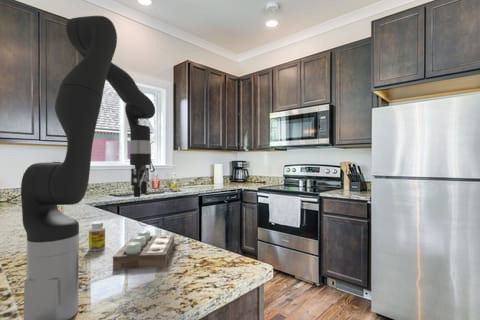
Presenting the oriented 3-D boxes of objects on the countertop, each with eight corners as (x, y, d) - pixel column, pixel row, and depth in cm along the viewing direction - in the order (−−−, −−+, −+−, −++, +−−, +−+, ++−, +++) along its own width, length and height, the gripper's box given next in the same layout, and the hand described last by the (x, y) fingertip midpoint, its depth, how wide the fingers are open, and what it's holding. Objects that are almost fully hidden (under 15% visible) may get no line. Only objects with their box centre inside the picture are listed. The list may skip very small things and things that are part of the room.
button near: (138, 258, 84) (138, 245, 84) (123, 259, 84) (123, 246, 84) (142, 253, 89) (142, 241, 89) (128, 254, 88) (128, 242, 88)
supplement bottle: (89, 252, 97) (89, 225, 97) (88, 248, 102) (88, 222, 102) (106, 249, 100) (106, 223, 100) (104, 246, 105) (104, 220, 105)
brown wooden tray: (165, 266, 83) (165, 253, 84) (112, 269, 81) (112, 255, 81) (174, 244, 106) (174, 233, 106) (133, 246, 104) (133, 235, 104)
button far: (148, 244, 99) (148, 233, 99) (136, 244, 98) (136, 234, 98) (151, 240, 104) (151, 230, 104) (139, 241, 103) (139, 230, 103)
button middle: (144, 250, 92) (144, 239, 92) (130, 251, 91) (130, 239, 91) (147, 246, 96) (147, 235, 96) (134, 247, 96) (134, 236, 96)
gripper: (145, 152, 93) (145, 198, 93) (155, 153, 107) (155, 192, 107) (123, 152, 92) (123, 198, 92) (136, 153, 106) (136, 192, 107)
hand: (140, 195), depth 100 cm, fingers open, 8 cm apart
